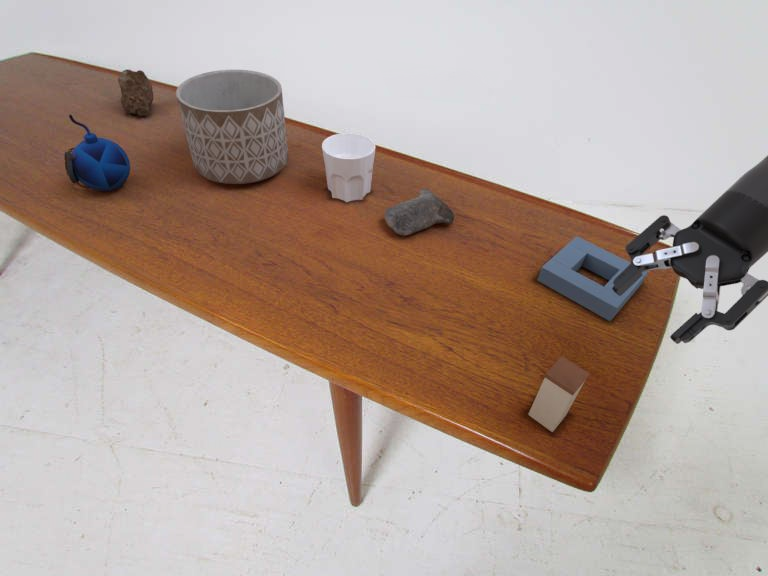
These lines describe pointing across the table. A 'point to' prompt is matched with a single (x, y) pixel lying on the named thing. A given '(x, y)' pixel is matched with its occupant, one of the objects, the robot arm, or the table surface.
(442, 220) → the stone
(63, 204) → the table surface
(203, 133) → the planter
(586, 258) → the blue square frame
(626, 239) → the table surface
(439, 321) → the table surface
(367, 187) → the cup
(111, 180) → the bomb
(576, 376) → the brown square block
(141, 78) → the rock
